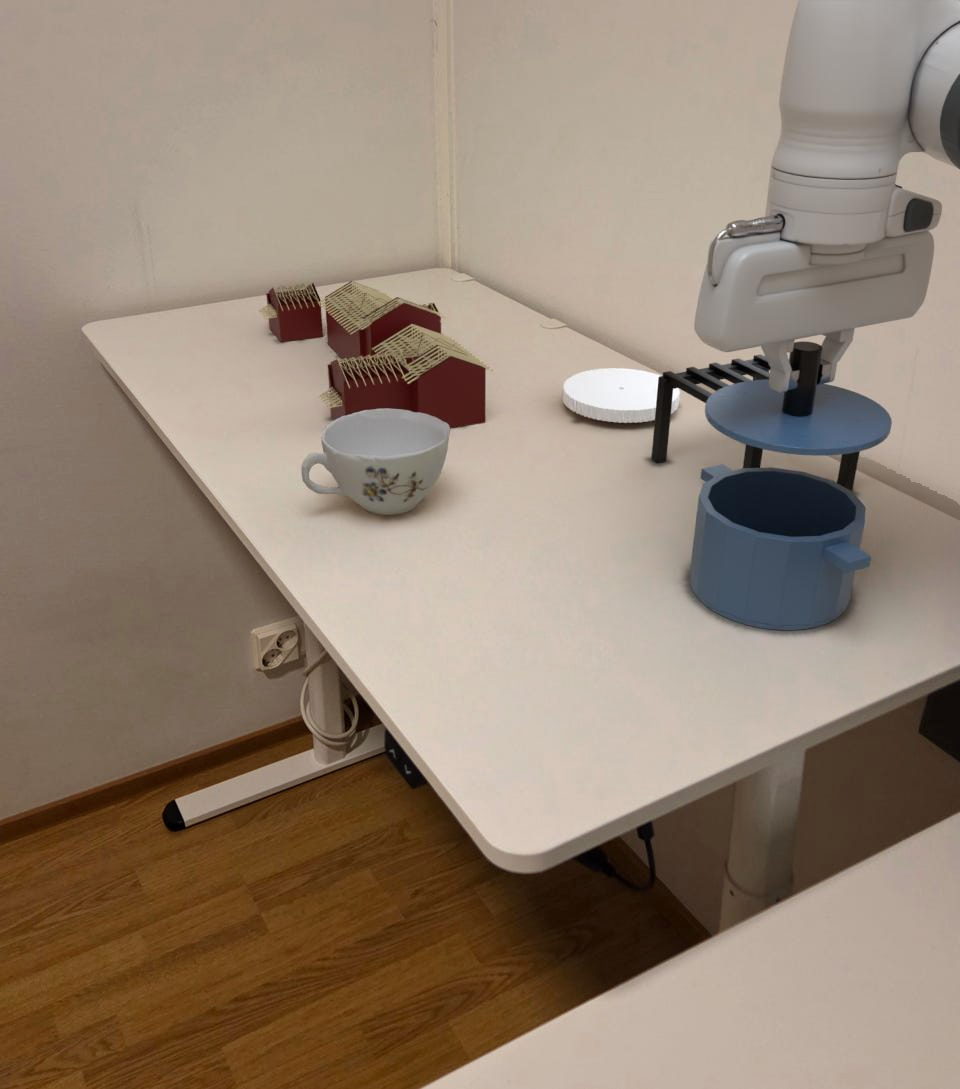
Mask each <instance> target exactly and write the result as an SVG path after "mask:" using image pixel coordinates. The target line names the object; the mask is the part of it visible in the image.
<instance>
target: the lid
mask: <svg viewBox="0 0 960 1089" xmlns="http://www.w3.org/2000/svg"><path fill="white" fill-rule="evenodd" d="M821 345H822V344H819V343H817V342H813V341H806V340H805V341H804V340H803V341H794V347H793V351H792V352H789V356H788V359H789V362H790V366H791V367H794V368H796V369H798V370H800V374H799V379H798V380H797V382H798V387H797V388H796V389H795V390H791V391H787V392H783V393H779V392H777V391H775V390H773V389H771V388H770V386H769V379H766V380H754V381H753V380H752V381H746V382H740V383H736V384H734V383H731V384H728V385H729V386H726V387H723V388H721V389H719V390H717V391H714V392H713V393H712V395H711V396H710V397H709V398H708V399H707V401H706V403H705V406H704V416H705V418H706V420H707V422H708V423H709V424H710V425H711V426H712V427H713V428H714V429H715V430H716V431H718V432H720V433H721V434H722V435H724V436H726V437H728V438H730V439H732V440H734V441H737V442H739V443H741V444H744V445H746V444H747V445H750V446H753V447H757V448H761V449H763V450H766V451H769V452H775V453H781V454H787V455H799V456H811V457H813V456H815V457H817V456H823V457H825V456H840V455H841V456H842V454H849V453H854V452H859V451H860V452H863V451H866V450H869V449H872V448H874V447H876V446H879V445H880V444H882V443H883V442H884V441H885V440H886V439H888V437H889V435H890V434H891V430H892V425H893V421H892V417H891V415H890V413H889V412H888V411H887V410H886V408H885V407H884V406H882V405H881V404H880V403H878V402H877V401H875V400H874V399H873V398H870V397H868V396H865V395H863V394H862V393H859V392H856V391H853V390H850V389H847V388H845V387H840V386H837V385H832V384H829V383H824V384H820V385H817V380H818V374H819V367H820V361H821V354H822V346H821Z"/></svg>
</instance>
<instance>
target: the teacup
mask: <svg viewBox="0 0 960 1089" xmlns="http://www.w3.org/2000/svg"><path fill="white" fill-rule="evenodd" d="M451 429H452V428H450V427H449V425H448V424H447V423H446V422H443V421H441V420H440V419H438V418H436V417H433V416H430V415H428V414H424V413H420V412H418V413H415V412H412V411H409V410H401V409H389V408H385V409H374V410H364V411H360V412H357V413H353V414H350V415H346V416H342V417H340V418H338V419H336V420H334V419H333V420H332V421H330V423H329V424H327V426H325V427H324V428H323V430H322V434H321V437H320V438H321V439H320V441H321V447H322V451H323V453H322V452H321V453H320V452H312V453H309V454H308V455H307V456H306V457H305V458H304V460H303V461H302V463H301V480H302V483H304V484H305V486H306V487H307V488H308V489H309V490H310V491H312V492H314V493H315V494H318V495H342V496H345V497H348V498H349V499H351V500H352V501H353V502H354V503H356V504H357V505H359V506H361V508H362V509H364V510H365V511H367V512H369V513H372V514H374V515H380V516H395V515H401V514H405V513H408V512H410V511H411V510H413V509H414V508H416V507H417V505H419V503H420V501H421V500H423V499H424V498H425V497H426V496H427V494H429V493H430V491H431V490H432V489H433V487H434V486H435V484H436V483H437V481H438V480H439V478H440V476H441V474H442V471H443V468H444V466H445V462H446V458H447V453H448V448H449V441H450V434H451ZM317 464H320V465H322V466H323V467H324V468H325V470H326V471H327V472H329V473H330V474H331V476H332V477H333V479H334V481H335V482H336V483H337V486H324V485H321V484H318V483H316V482H314V481H313V480H311V478H310V472H311V469H312V467H313V466H314V465H317Z"/></svg>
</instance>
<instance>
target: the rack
mask: <svg viewBox="0 0 960 1089" xmlns="http://www.w3.org/2000/svg"><path fill="white" fill-rule="evenodd" d="M770 368H771V367H770V366H769V364H768V361H767V359H766V357H765V355H763V354H761V353H760V354H755V355H753V358H752V359H745V360H743V359H741V358H739V357H738V358H733V359H731V362H730V363H724V364H721V363H718V362H712V363H711V362H710V363H709V364H708V367H703V368H697V367H695V366H690V367H686V368H685V371H681V372H673V371H671V370H668V371H664V372H663V371H662V375H660V377H659V379H658V390H657V401H656V412H655V420H654V424H653V436H652V447H651V448H652V449H651V450H652V451H651V457H650V459H651V460H652V461H653V462H655V463H656V464H660V463H665V462H667V458H668V446H669V438H670V426H671V418H672V417H671V416H672V413H671V406H672V396H673V389H675V388H679V390H680V391H683V392H684V393H686V394H688V395H690V396H692V397H693V398H694V399H697V400H698V401H701V402H703V403H704V404H706V401H707V399H708V398H709V397H710V396H711V395H712V394H713V393H712V392H710V391H708V390H707V389H705V388H703V387H701V386H699V385H704V386H705V387H708V388H709V389H711V390H713V391H714V392H716V391H717V390H719V389H721V388H723V387H726V386H729V385H730V384H728V383H726V382H723V380H726V381H728V382H729V383H731V384H736V383H740V382H746V381H754V380H766V379H769V376H770ZM746 376H750V378H752V379H750V378H749V377H746ZM763 453H764V449H761V448H757V447H753V446H750V445H747V444H745V449H744V456H743V463H742V468H761V465H762V459H763V458H762V457H763ZM860 453H861V451H859V452H854V453H849V454H841V457H840V464H839V469H838V475H837V480H836V483H838V484H839V485H841V486H843V487H845V488H846V489H848V490H850V491H852V492H853V489H854V485H855V478H856V475H857V474H856V473H857V468H858V464H859V459H860Z"/></svg>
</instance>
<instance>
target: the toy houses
mask: <svg viewBox="0 0 960 1089" xmlns="http://www.w3.org/2000/svg"><path fill="white" fill-rule="evenodd" d="M265 295H266V305H265V306H263V307H262V308H260V309H258V312H259V313H260V314H261V315H262V317H263V318H264V319H265V320H266V321H267V320H268V326H269V330H270V331H271V332H272V333H273V335H274V336H275V337H276V338H277V339H278V341H279V342H280V343H285V342H293V341H300V340H308V339H309V340H310V339H317V338H323V337H324V330H323V316H322V309H324V310H325V320H326V336H327V337H326V338H327V345H328V346H329V347H330V348H331V349H332V350H333V351H334V353H335V354H336V355H337V356H338V357H339V358H340V360H339V358H337V359H334V360H332V361H330V362H328V363H327V378H328V389H327V390H326V391H324V392H322V393H321V394H319V395H318V398H319V399H320V400H321V401H322V403H324V405H326V407H327V408H328V410H330V417H331V419H332V420H333V421H334V420H336V419H338V418H340V417H342V416H346V415H350V414H353V413H357V412H360V411H364V410H374V409H385V408H389V409H401V410H409V411H412V412H415V413H418V412H420V413H424V414H428V415H430V416H433V417H436V418H438V419H440V420H441V421H443V422H446V423H447V424H448V425H449V427H450V428H451V429H452V428H458V427H463V426H469V425H475V424H482V423H486V379H487V378H486V374H487V372H486V371H490V372H493V371H494V369H492V368H491V367H490V366H487V364H486V363H484V362H483V361H481V359H480V358H479V357H477V356H476V355H474V354H473V353H472V352H471V351H469V350H468V349H467V348H465V347H464V346H463V345H462V344H460V343H459V342H458V341H456V340H455V339H453V337H452V336H449V335H445V334H443V333H442V319H444V320H447V318H448V317H446V316H445V315H443V314H442V313H441V312H440V311H439V310H438V307H437V306H436V304H435V302H429V303H424V304H420V303H419V304H417V303H415V302H412V301H409V300H407V299H403V298H401V297H399V296H398V297H397V296H396V297H395V298H392V297H390V295H388V294H387V293H385V292H382V291H379V290H377V289H375V288H371V287H369V286H367V285H364V284H361V283H359V282H355V281H353V280H350V281H349V282H347V283H346V284H344V285H342V286H340V287H339V288H337V289H336V290H334V291H332V292H330V293H329V294H327V295H326V296H324V298H323V299H321V297H320V295H319V293H318V291H317V289H316V286H315V284H314V282H310V283H308V284H307V285H306V283H301V284H296V285H295V286H294V285H290V286H289V285H288V286H287V285H284V286H283V287H282V285H281V286H278V287H277V288H276V289H275V287H274V286H272V287H271V288H270V289H269V290H268V292H265Z"/></svg>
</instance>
